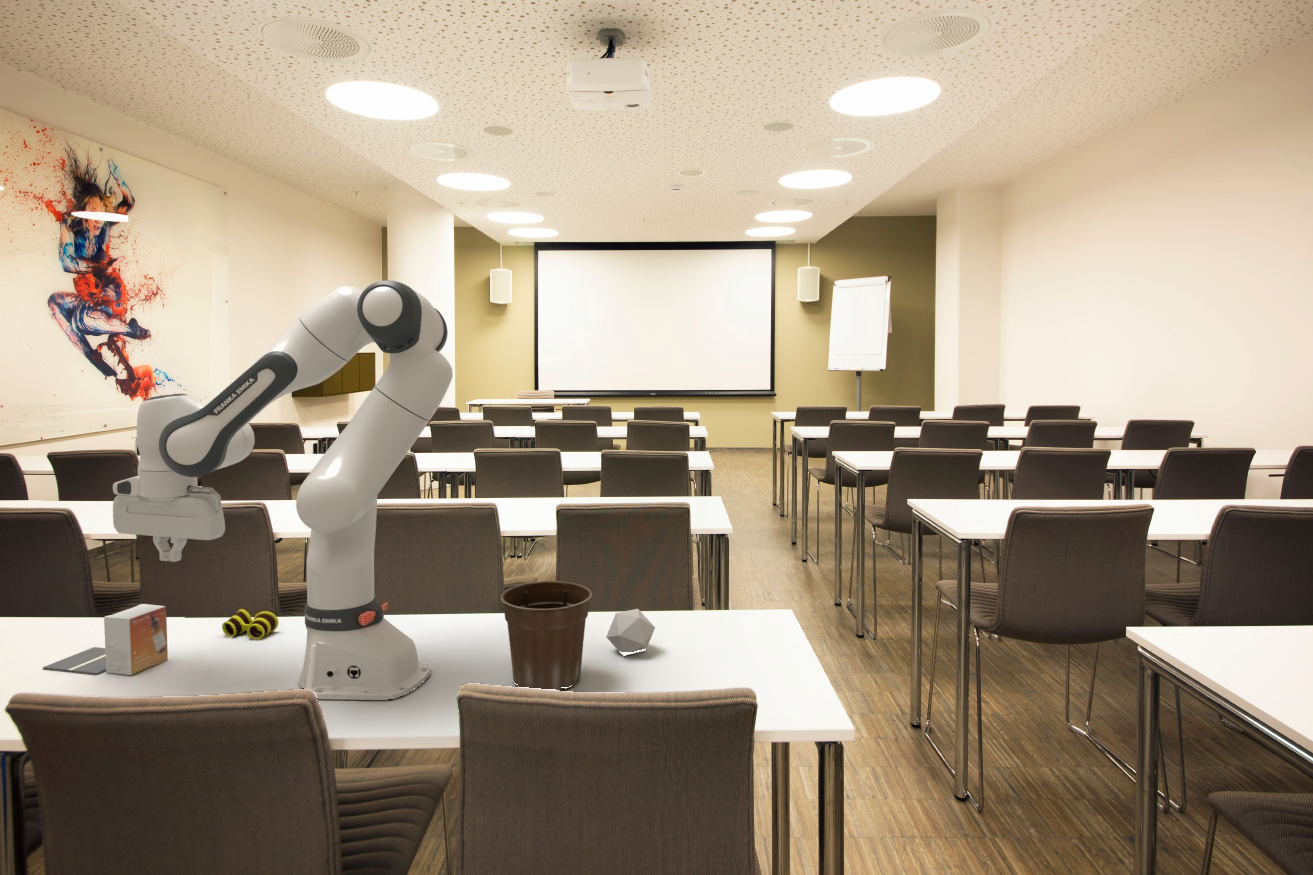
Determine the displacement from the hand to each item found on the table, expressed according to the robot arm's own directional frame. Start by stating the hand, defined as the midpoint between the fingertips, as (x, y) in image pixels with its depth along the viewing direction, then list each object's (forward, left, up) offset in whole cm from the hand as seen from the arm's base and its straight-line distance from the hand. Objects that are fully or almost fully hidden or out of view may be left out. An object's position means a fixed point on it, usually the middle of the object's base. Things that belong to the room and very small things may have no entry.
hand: (170, 560), depth 132 cm
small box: (+8, 0, -21) cm, 22 cm away
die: (-79, -28, -21) cm, 86 cm away
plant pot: (-67, -11, -21) cm, 71 cm away
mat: (+17, 0, -20) cm, 27 cm away
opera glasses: (0, -19, -21) cm, 28 cm away
